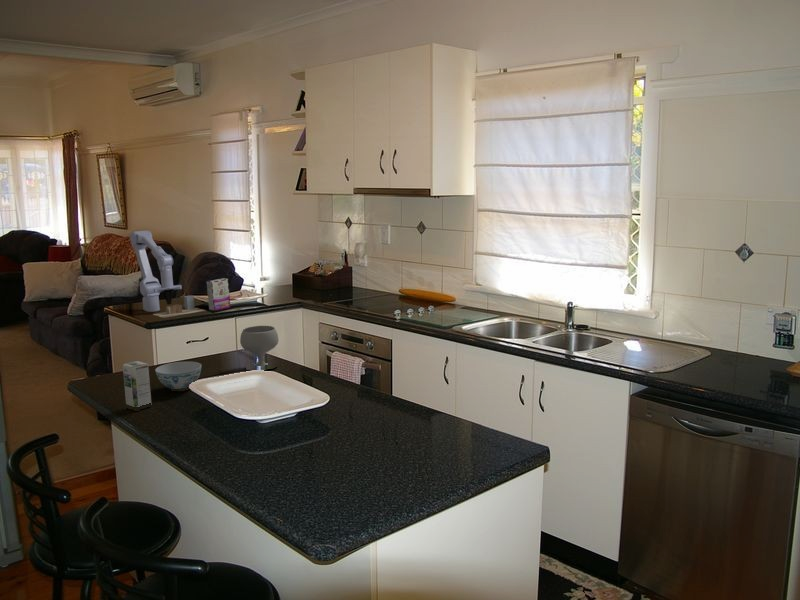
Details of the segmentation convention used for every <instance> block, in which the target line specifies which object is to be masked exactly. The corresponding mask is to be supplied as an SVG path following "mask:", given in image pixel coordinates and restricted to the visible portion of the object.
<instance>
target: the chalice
mask: <svg viewBox="0 0 800 600" xmlns="http://www.w3.org/2000/svg"><path fill="white" fill-rule="evenodd" d="M239 342H240V346H241V347H242V349H244V350H245V351H247V352H249V353H251V354H254V355H255V356H256V357H257V362H255V363H256V364H254V363H253V364H254V366H265V365H268V363H265V362H266V361H264V357H265V355H266V354H267V353H268V352H270V351H272V350H273V349H275V348H276V346H277V345H278V344H279V334H278V331H277V330H276V328H275V327H274V326H271V325H255V326H249V327H245V328H243V330H242V331H241V334H240V339H239Z"/></svg>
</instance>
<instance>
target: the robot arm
mask: <svg viewBox="0 0 800 600" xmlns="http://www.w3.org/2000/svg"><path fill="white" fill-rule="evenodd" d="M129 241H130V245H131V247H132V248H133V249H134V251H135V256H136V259H137V261H138V262H137V263H138V265H139V269H140V273H141V276H142V277H141V278H142V280H141V281H140V282H139V291H140V294H141V296H143V297H142V308H143V311H145V312H150V313H151V312H158V311H161V308H160V306H161V305H160V299H159V298H160V297H159V295H160V293H162V296H163V297H164V299H165V302H166V305H167V306H169V305H172V301H173V297H174V294H175V292H176V290H182V288H183V287H182V284H176V285H174V279H173V268H172V266H173V265H174V258H173V256H172V255H171V254H168V253H167V252H166V251H164V249H163V248H162V246H159V245H157V244H156V242H155V241H154V239H153V233H152V232H151V230H149V229H146V230H135V231H134V230H133V231H131V232H130V235H129ZM146 248H149V249H150V251H151V252H150V253H151V254H152V256H153V258H155V260H156V263H157V266H158V269H159V271H160V272H159V273H160V281H159V279H158V278H156V277H155V276H154V275H153V271H152V268H151V266H150V262H149V258H148V255H147V251H146ZM160 282H161V284H160Z"/></svg>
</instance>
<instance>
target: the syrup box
mask: <svg viewBox="0 0 800 600" xmlns="http://www.w3.org/2000/svg"><path fill="white" fill-rule="evenodd" d="M122 372H123V385H124V396H125V405H126V404H127V405H129V406H132V407H140V406H142V405H146V404H149V403H151V404H152V395H151V385H150V373H149V372H150V369H149V363H148V362H147V363H145V362H142V361H140V360H137V361H131V362H126V363H124V364H122Z"/></svg>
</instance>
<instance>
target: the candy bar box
mask: <svg viewBox="0 0 800 600" xmlns="http://www.w3.org/2000/svg"><path fill="white" fill-rule="evenodd" d="M206 290H207V291H206V292H207V299H208V300H207V301H208V310H210V311H218V310H219V311H220V310H223V309H229V308H231V298H230V296H231V295H230V287H229V278H225V277H224V278H218V279H213V280H206Z"/></svg>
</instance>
